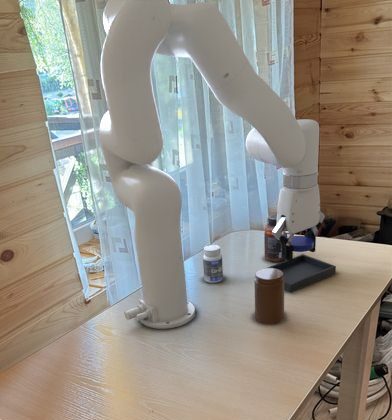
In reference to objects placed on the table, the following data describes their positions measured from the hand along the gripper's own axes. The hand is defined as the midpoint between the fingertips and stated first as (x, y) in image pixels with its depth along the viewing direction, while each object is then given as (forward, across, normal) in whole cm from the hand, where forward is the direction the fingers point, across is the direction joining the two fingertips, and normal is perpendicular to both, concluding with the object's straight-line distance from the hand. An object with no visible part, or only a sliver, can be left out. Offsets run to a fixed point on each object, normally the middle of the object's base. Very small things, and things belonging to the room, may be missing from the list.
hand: (298, 254), depth 124 cm
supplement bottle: (+6, -4, -12) cm, 14 cm away
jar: (+5, +19, +11) cm, 23 cm away
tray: (+6, 0, 0) cm, 6 cm away
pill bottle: (+6, +16, -13) cm, 22 cm away
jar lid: (-3, 0, 0) cm, 3 cm away
